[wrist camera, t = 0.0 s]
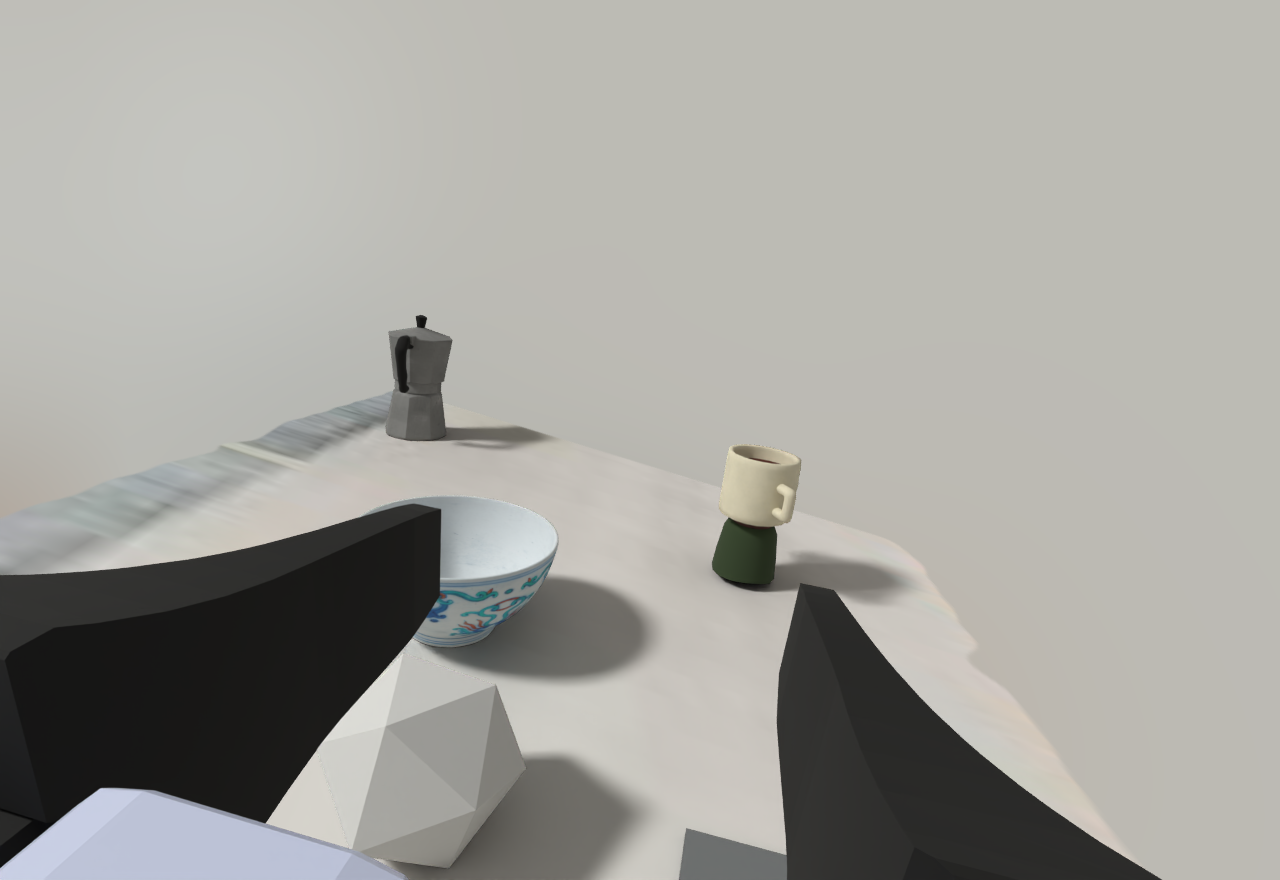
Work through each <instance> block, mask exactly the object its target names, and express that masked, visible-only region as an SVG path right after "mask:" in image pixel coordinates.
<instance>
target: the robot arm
mask: <svg viewBox="0 0 1280 880" xmlns="http://www.w3.org/2000/svg"><path fill="white" fill-rule="evenodd" d="M440 559H441V509H439V508H434V507H429V506H424V505H419V504H415V503H413V504H407V505H402V506H397V507H394V508H390V509H386V510H382V511H379V512H375V513H372V514H369V515H365V516H362V517H359V518H355V519H352V520H349V521H345V522H342V523H339V524H335V525H332V526H329V527H325V528H322V529H319V530H315V531H312V532H308V533H304V534H300V535H297V536H293V537H289V538H286V539H282V540H278V541H274V542H271V543H267V544H263V545H259V546H255V547H250V548H246V549H241V550H237V551H232V552H227V553H222V554H216V555H211V556H206V557H201V558H195V559H189V560H181V561H174V562H167V563H159V564H152V565H144V566H137V567H129V568H120V569H109V570H98V571H87V572H71V573H56V574H35V575H0V880H409V879H408V878H407V877H406V876H405V875H404V874H402V873H400V872H398V871H396V870H394V869H392V868H390V867H388V866H387V865H385V864H383V863H381V862H379V861H377V860H375V859H373V858H371V857H369V856H367V855H365V854H363V853H361V852H359V851H355V850H352V849H349V848H345V847H342V846H339V845H335V844H332V843H328V842H325V841H322V840H318V839H315V838H312V837H308V836H305V835H302V834H298V833H295V832H292V831H288V830H285V829H282V828H278V827H275V826H272V825H268V824H265V823H266V822H267V820H268V819H269V817H270V816H271V815H272V813H273V812H274V810H275V809H276V807H277V806H278V804H279V803H280V801H281V800H282V798H283V797H284V795H285V794H286V792H287V791H288V789H289V788H290V786H291V785H292V784H293V782H294V781H295V780H296V778H297V777H298V775H299V774H300V773H301V771H302V770H303V768H304V767H305V766H306V764H307V763H308V761H309V760H310V759H311V757H312V756H313V754H314V753H315V752H316V750H317V749H318V747H319V746H320V745H321V743H322V742H323V741H324V739H325V738H326V737H327V736H328V734H329V733H330V732H331V731H332V730H333V728H334V727H335V726H336V725H337V723H338V722H339V721H340V720H341V719H342V718H343V716H344V715H345V714H346V713H347V712H348V711H349V710H350V708H351V707H352V706H353V705H354V704H355V703H356V702H357V701H358V699H359V698H360V697H361V696H362V695H363V694H364V693H365V691H366V690H367V689H368V688H369V687H370V686H371V685H372V684H373V682H374V681H375V680H376V679H377V678H378V677H379V676H380V674H381V673H382V672H383V671H384V670H385V669H386V668H387V667H388V665H389V664H390V663H391V662H392V661H393V660H394V658H395V657H396V656H397V655H398V654H399V653H400V652H401V650H402V649H403V648H404V647H405V646H406V645H407V643H408V642H409V641H410V640H411V639H412V637H413V636H414V635H415V634H416V632H417V631H418V629H419V628H420V626H421V625H422V623H423V622H424V620H425V619H426V617H427V616H428V614H429V612H430V611H431V609H432V608H433V606H434V604H435V603H436V601H437V600H438V598H439V596H440ZM777 733H778V746H779V759H780V772H781V784H782V796H783V809H784V821H785V833H786V852H787V880H1161V879H1160V878H1158V877H1157V876H1155V875H1153V874H1152V873H1150V872H1148V871H1147V870H1145V869H1144V868H1142V867H1140V866H1139V865H1137V864H1135V863H1134V862H1132V861H1130V860H1129V859H1127V858H1125V857H1124V856H1122V855H1121V854H1119V853H1117V852H1116V851H1114V850H1112V849H1111V848H1109V847H1107V846H1106V845H1104V844H1102V843H1101V842H1099V841H1098V840H1096V839H1095V838H1093V837H1092V836H1090V835H1089V834H1087V833H1086V832H1084V831H1083V830H1081V829H1080V828H1079V827H1077V826H1076V825H1074V824H1073V823H1071V822H1070V821H1068V820H1067V819H1066V818H1064V817H1063V816H1061V815H1060V814H1058V813H1057V812H1055V811H1054V810H1052V809H1051V808H1050V807H1048V806H1047V805H1045V804H1044V803H1043V802H1041V801H1040V800H1039V799H1037V798H1036V797H1035V796H1033V795H1032V794H1030V793H1029V792H1028V791H1026V790H1025V789H1024V788H1022V787H1021V786H1020V785H1018V784H1017V783H1016V782H1015V781H1013V780H1012V779H1011V778H1010V777H1008V776H1007V775H1006V774H1005V773H1003V772H1002V771H1001V770H1000V769H998V768H997V767H996V766H995V765H993V764H992V763H991V762H990V761H988V760H987V759H986V758H985V757H983V756H982V755H981V754H980V753H979V752H978V751H976V750H975V749H974V748H973V747H972V746H971V745H969V744H968V743H967V742H966V741H965V740H964V739H963V738H962V737H960V736H959V735H958V734H957V733H956V732H955V731H954V730H953V729H952V728H951V727H950V726H949V725H948V724H947V723H946V722H945V721H943V720H942V719H941V718H940V717H939V716H938V715H937V714H936V713H935V712H934V711H933V710H932V709H931V708H930V707H929V706H928V705H927V704H926V703H925V702H924V701H923V700H922V699H921V698H920V697H919V696H918V695H917V693H916V692H915V691H914V690H913V689H912V688H911V687H910V686H909V685H908V684H907V682H906V681H905V680H904V679H903V678H902V677H901V676H900V675H899V674H898V672H897V671H896V670H895V669H894V668H893V667H892V665H891V664H890V663H889V662H888V661H887V659H886V658H885V657H884V656H883V655H882V653H881V652H880V651H879V650H878V648H877V647H876V646H875V645H874V643H873V642H872V641H871V639H870V638H869V637H868V636H867V634H866V633H865V632H864V630H863V629H862V628H861V626H860V625H859V624H858V622H857V621H856V620H855V618H854V617H853V615H852V614H851V613H850V611H849V610H848V609H847V607H846V606H845V604H844V603H843V602H842V600H841V599H840V598H839V596H838V595H837V594H836V592H835V591H834V590H831V589H826V588H821V587H816V586H811V585H807V584H802V583H800V587H799V591H798V595H797V600H796V604H795V608H794V612H793V616H792V621H791V625H790V629H789V633H788V638H787V642H786V646H785V650H784V655H783V659H782V663H781V667H780V672H779V685H778V704H777Z"/></svg>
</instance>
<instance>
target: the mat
mask: <svg viewBox="0 0 1280 880" xmlns="http://www.w3.org/2000/svg"><path fill="white" fill-rule="evenodd" d="M679 880H787V855H784V854H780V853H776V852H772V851H769V850H765V849H761V848H758V847H754V846H750V845H747V844H743V843H739V842H735V841H732V840H728V839H724V838H721V837H717V836H713V835H709V834H706V833H702V832H698V831H695V830H691V829H687V828H686V833H685V840H684V847H683V854H682V862H681V869H680V876H679Z"/></svg>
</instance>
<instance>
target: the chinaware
mask: <svg viewBox="0 0 1280 880" xmlns="http://www.w3.org/2000/svg"><path fill="white" fill-rule="evenodd" d="M413 503H415V504H419V505H424V506H429V507H434V508H439V509H441V559H440V596H439V598H438V600H437V601H436V603H435V604H434V606H433V608H432V609H431V611H430V612H429V614H428V616H427V617H426V619H425V620H424V622H423V623H422V625H421V626H420V628H419V629H418V631H417V632H416V634H415V635H414V636H413V638H414V639H415V640H417V641H419V642H421V643H424V644H427V645H431V646H436V647H460V646H465V645H469V644H473V643H475V642H478V641H480V640H482V639H484V638H485V637H487V636H488V635H489V634H490V633H491V632H492V631H493V629H494V627H495V626H496V625H498V624H500V623H502V622H504V621H505V620H507V619H509V618H510V617H511V616H513V615H514V614H515V613H517V612H518V611H519V610H520V609H521V608H523V607H524V606H525V605H526V604H527V603H528V602H529V600H530V599H531V598H532V597H533V596H534V595H535V593H536V592H537V590H538V589H539V588H540V586H541V584H542V583H543V581H544V579H545V577H546V576H547V574H548V571H549V569H550V567H551V565H552V562H553V559H554V557H555V554H556V551H557V547H558V534H557V531H556V529H555V528H554V526H553V525H552V524H551V523H550V522H549V521H548V520H547V519H545V518H544V517H542V516H541V515H539V514H537V513H535V512H533V511H531V510H529V509H527V508H524V507H521V506H519V505H515V504H512V503H508V502H504V501H500V500H495V499H489V498H482V497H474V496H458V495H440V496H425V497H416V498H409V499H404V500H399V501H395V502H391V503H387V504H384V505H381V506H379V507H376V508H374V509H372V510H369V511H367V512H366V513H364V514H362V515H361V516H359V517H362V516H365V515H369V514H372V513H375V512H379V511H382V510H386V509H390V508H394V507H397V506H402V505H407V504H413ZM359 517H358V518H359Z"/></svg>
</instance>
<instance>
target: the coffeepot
mask: <svg viewBox="0 0 1280 880" xmlns="http://www.w3.org/2000/svg"><path fill="white" fill-rule="evenodd" d="M426 320H427V317H425V316H423V315H419V316H416V321H417V327H416V328H408V329H402V330H396V331H389V338H390V339H389V340H390V349H391V358H392V367H393V376H394V379H395V389H394V390H393V395H392V399H391V404H390V409H389V413H388V418H387V423H386V433H387V434H388V435H389V436H391V437H394V438H398V439H404V440H413V441H428V440H435V439H439V438H442V437H444V436H445V435H446V428H445V419H444V410H443V401H442V394H441V382H443V381H444V378H445V373H446V368H447V363H448V359H449V354H450V349H451V344H452V339H451V338H450V337H449V336H446V335H443V334H440V333H438V332H435V331H432V330H429V329H426V328H425V324H426Z"/></svg>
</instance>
